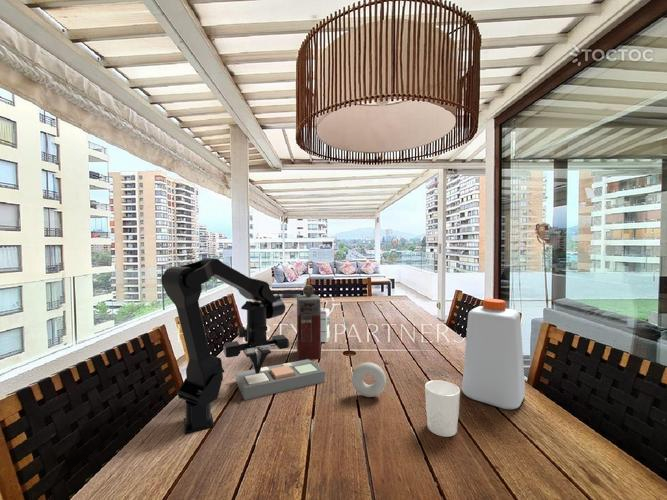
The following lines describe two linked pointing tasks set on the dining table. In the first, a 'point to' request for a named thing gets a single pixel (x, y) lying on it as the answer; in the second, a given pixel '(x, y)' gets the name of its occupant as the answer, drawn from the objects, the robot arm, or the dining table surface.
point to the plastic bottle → (494, 356)
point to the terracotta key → (281, 372)
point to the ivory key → (256, 379)
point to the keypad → (278, 380)
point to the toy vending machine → (308, 325)
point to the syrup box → (325, 325)
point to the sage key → (305, 369)
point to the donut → (365, 388)
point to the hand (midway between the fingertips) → (257, 373)
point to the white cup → (442, 407)
